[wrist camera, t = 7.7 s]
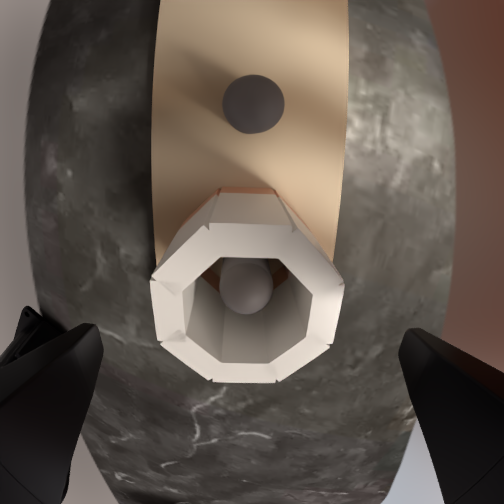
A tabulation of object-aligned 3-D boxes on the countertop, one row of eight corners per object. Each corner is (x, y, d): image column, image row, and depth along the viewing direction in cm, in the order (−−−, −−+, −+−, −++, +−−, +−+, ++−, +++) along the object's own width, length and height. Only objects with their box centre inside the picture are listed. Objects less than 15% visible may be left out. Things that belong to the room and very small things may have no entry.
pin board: (318, 296, 18) (350, 370, 12) (166, 293, 18) (136, 367, 12) (336, -34, 11) (378, -93, 5) (174, -42, 10) (147, -106, 4)
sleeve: (298, 302, 16) (323, 380, 11) (186, 299, 16) (163, 378, 11) (311, 190, 14) (354, 228, 9) (182, 186, 14) (145, 221, 8)
